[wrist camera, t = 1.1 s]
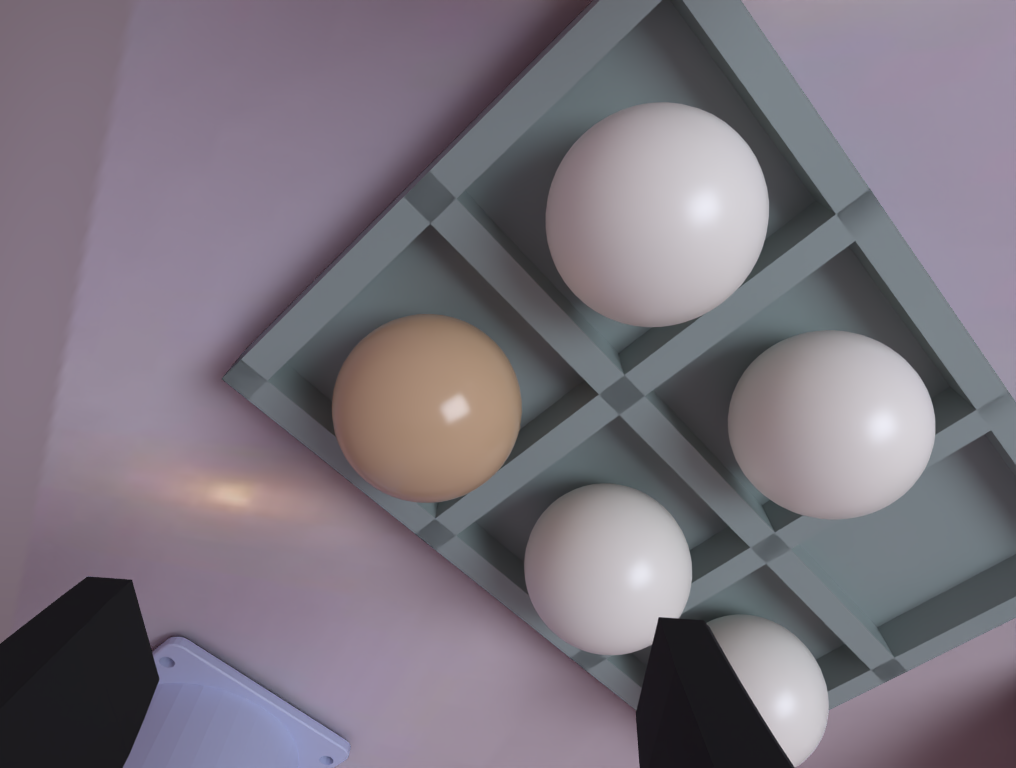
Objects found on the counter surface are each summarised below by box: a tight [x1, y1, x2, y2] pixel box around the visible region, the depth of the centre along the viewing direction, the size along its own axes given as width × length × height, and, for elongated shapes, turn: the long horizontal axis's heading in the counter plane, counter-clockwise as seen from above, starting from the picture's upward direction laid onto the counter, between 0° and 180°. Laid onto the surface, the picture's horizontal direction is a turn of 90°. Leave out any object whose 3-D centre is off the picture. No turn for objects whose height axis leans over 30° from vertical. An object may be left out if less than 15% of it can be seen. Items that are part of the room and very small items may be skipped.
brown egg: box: [332, 314, 522, 503], centre depth 16 cm, size 4×4×4 cm
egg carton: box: [222, 0, 1016, 767], centre depth 18 cm, size 14×21×5 cm
